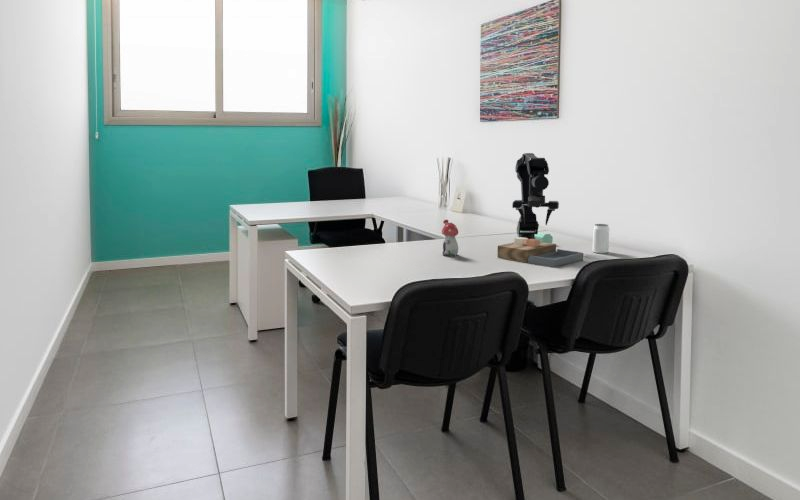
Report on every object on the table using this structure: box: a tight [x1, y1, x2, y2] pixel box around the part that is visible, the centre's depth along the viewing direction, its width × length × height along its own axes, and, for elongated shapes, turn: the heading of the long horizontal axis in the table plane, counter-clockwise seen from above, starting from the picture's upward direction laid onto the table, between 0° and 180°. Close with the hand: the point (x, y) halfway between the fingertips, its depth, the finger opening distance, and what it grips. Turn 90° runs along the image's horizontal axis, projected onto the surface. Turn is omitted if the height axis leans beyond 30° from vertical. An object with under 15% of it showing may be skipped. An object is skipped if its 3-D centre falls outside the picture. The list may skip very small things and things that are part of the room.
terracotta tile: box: [526, 239, 540, 247], centre depth 253 cm, size 4×4×2 cm
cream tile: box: [513, 236, 528, 245], centre depth 257 cm, size 4×4×2 cm
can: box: [592, 223, 610, 255], centre depth 262 cm, size 6×6×12 cm
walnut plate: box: [497, 241, 557, 263], centre depth 255 cm, size 15×20×5 cm
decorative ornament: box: [441, 219, 459, 257], centre depth 260 cm, size 9×6×15 cm
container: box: [516, 231, 554, 244], centre depth 294 cm, size 6×6×25 cm
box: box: [527, 248, 584, 268], centre depth 245 cm, size 13×20×3 cm, turn 132°
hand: (535, 224), depth 259 cm, fingers open, 9 cm apart
